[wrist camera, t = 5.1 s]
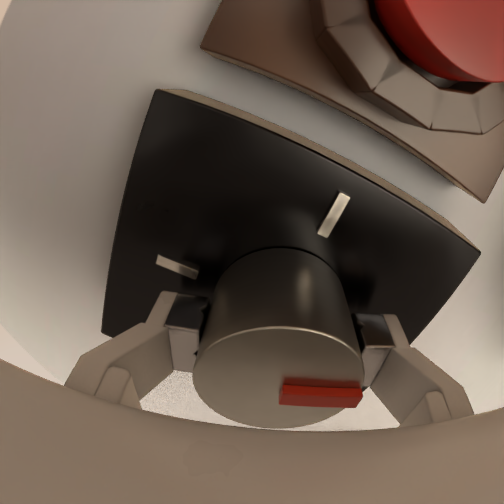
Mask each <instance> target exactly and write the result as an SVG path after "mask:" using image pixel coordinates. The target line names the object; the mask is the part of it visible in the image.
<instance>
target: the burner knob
mask: <svg viewBox="0 0 504 504" xmlns="http://www.w3.org/2000/svg"><path fill="white" fill-rule="evenodd" d="M192 377H193V384H194V387H195V389H196V391H197V393H198V395H199V397H200V398H201V399H202V400H203V402H204V403H206V404H207V405H208V406H209V407H210V408H211V409H213V410H214V411H215V412H217V413H219V414H220V415H222V416H224V417H226V418H228V419H230V420H233V421H236V422H238V423H242V424H245V425H250V426H255V427H261V428H275V429H276V428H294V427H300V426H305V425H310V424H313V423H317V422H320V421H322V420H325V419H327V418H329V417H331V416H333V415H335V414H337V413H339V412H340V411H342V410H343V409H344V408H356V407H357V405H358V404H359V402H360V401H361V399H362V398H363V394H362V389H361V388H362V386H363V382H364V378H365V369H364V364H363V360H362V356H361V352H360V348H359V344H358V340H357V337H356V333H355V329H354V326H353V322H352V318H351V315H350V311H349V308H348V304H347V301H346V298H345V294H344V291H343V287H342V285H341V282H340V280H339V278H338V277H337V275H336V273H335V272H334V271H333V270H332V269H331V268H330V267H329V266H328V265H327V264H326V263H325V262H323V261H322V260H320V259H319V258H317V257H315V256H313V255H311V254H309V253H306V252H303V251H299V250H294V249H287V248H271V249H265V250H260V251H257V252H253V253H251V254H248V255H246V256H244V257H242V258H241V259H239V260H237V261H236V262H234V263H233V264H232V265H231V266H230V267H229V268H228V269H227V270H226V271H225V272H224V273H223V274H222V276H221V277H220V279H219V281H218V283H217V285H216V288H215V291H214V295H213V299H212V302H211V306H210V309H209V313H208V316H207V320H206V323H205V327H204V331H203V335H202V338H201V342H200V345H199V349H198V353H197V356H196V360H195V364H194V367H193V375H192Z"/></svg>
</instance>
